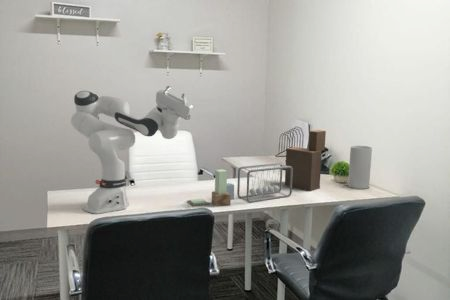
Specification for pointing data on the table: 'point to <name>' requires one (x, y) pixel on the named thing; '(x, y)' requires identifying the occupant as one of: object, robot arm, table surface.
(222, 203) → the walnut block
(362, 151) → the cylinder vase
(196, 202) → the green tile
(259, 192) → the newton's cradle
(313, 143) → the stacked brown boxes
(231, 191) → the slate-blue pillar
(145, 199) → the table surface
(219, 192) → the green pillar
